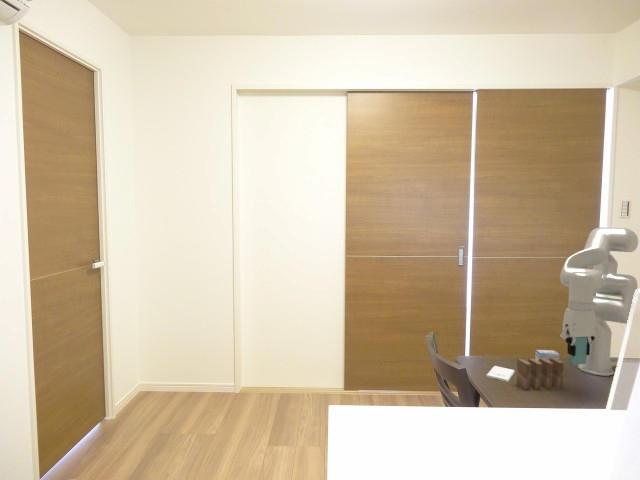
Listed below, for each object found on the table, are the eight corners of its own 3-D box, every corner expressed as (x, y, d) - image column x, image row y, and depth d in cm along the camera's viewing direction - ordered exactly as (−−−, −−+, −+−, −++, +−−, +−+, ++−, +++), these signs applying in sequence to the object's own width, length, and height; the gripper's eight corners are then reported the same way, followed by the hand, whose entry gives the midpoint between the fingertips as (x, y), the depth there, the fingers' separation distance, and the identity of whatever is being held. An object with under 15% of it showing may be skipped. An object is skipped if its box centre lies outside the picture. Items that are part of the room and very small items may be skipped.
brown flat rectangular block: (542, 383, 158) (543, 358, 158) (551, 388, 153) (552, 362, 153) (537, 383, 158) (539, 358, 157) (546, 388, 153) (547, 363, 152)
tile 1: (553, 382, 159) (554, 357, 158) (562, 388, 154) (563, 362, 153) (548, 382, 159) (549, 358, 158) (557, 388, 154) (558, 362, 153)
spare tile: (569, 362, 149) (570, 336, 148) (582, 361, 150) (583, 335, 149) (573, 364, 147) (575, 338, 146) (586, 363, 148) (587, 337, 147)
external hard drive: (514, 373, 169) (507, 383, 159) (493, 369, 174) (486, 378, 164) (514, 370, 169) (508, 379, 159) (494, 365, 173) (486, 374, 164)
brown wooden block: (531, 383, 158) (533, 358, 157) (540, 389, 153) (541, 363, 152) (527, 383, 157) (528, 358, 157) (535, 389, 152) (536, 363, 152)
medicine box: (553, 370, 172) (554, 350, 171) (558, 374, 167) (559, 353, 167) (534, 369, 172) (535, 349, 172) (538, 373, 168) (539, 353, 167)
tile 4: (521, 384, 157) (522, 359, 156) (529, 389, 152) (530, 363, 151) (516, 384, 157) (517, 359, 156) (524, 390, 152) (525, 364, 151)
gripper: (593, 302, 151) (591, 349, 153) (551, 304, 149) (549, 352, 151) (610, 307, 144) (607, 356, 146) (566, 309, 142) (564, 359, 143)
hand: (578, 353), depth 148 cm, fingers closed on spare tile, 4 cm apart
